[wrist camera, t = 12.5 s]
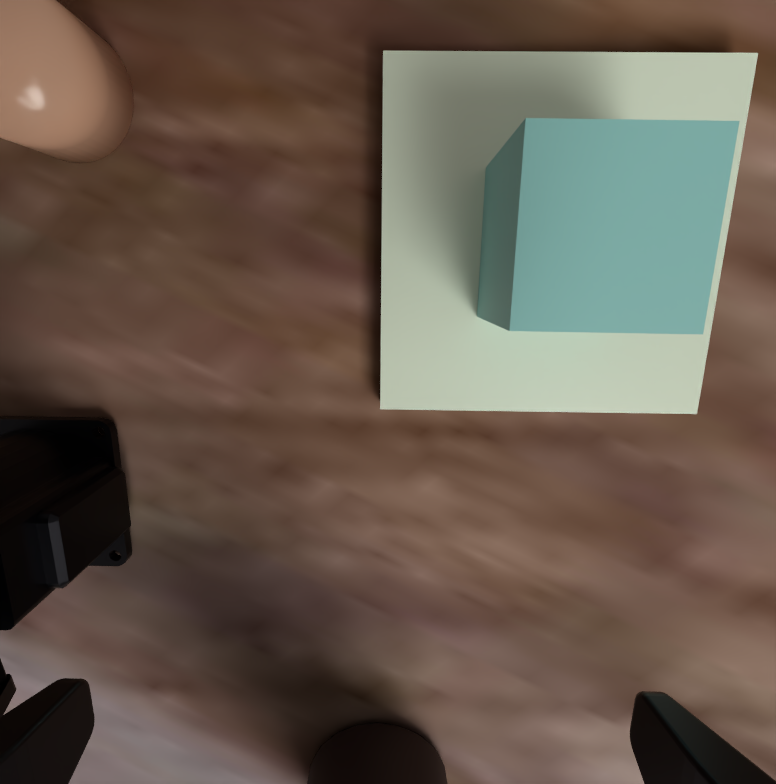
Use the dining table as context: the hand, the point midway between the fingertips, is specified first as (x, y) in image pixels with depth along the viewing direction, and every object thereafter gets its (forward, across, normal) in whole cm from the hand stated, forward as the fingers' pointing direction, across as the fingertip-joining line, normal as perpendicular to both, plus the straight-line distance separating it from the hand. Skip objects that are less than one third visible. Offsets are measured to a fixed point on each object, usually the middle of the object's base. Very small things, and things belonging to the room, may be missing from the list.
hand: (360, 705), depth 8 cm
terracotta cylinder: (+12, +11, -13) cm, 21 cm away
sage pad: (+12, -6, -8) cm, 16 cm away
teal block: (+11, -6, -8) cm, 15 cm away
